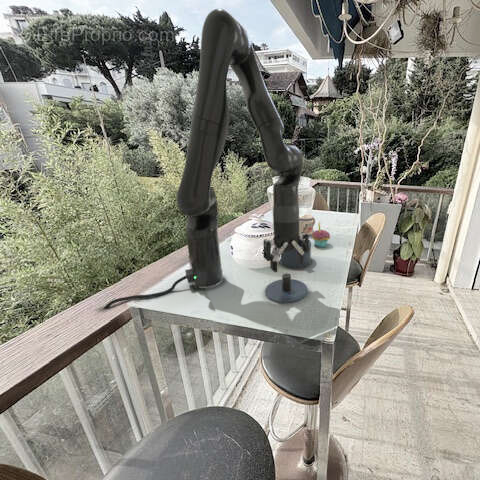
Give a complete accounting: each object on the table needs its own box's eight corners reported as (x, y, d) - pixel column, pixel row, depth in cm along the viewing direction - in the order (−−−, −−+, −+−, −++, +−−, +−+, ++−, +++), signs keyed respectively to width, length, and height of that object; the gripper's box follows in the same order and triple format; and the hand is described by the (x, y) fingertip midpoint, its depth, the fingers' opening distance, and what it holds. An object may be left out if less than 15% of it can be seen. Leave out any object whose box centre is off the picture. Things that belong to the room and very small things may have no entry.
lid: (276, 310, 77) (275, 291, 75) (258, 288, 87) (258, 271, 85) (315, 297, 84) (316, 279, 82) (295, 278, 94) (295, 262, 92)
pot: (291, 274, 97) (290, 253, 94) (271, 256, 111) (270, 237, 108) (319, 267, 103) (320, 246, 100) (297, 250, 117) (297, 232, 114)
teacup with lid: (304, 237, 133) (304, 214, 129) (292, 232, 139) (292, 211, 135) (320, 232, 141) (321, 210, 137) (308, 227, 147) (309, 207, 143)
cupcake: (323, 249, 119) (324, 224, 115) (307, 245, 123) (308, 220, 119) (332, 244, 126) (334, 220, 122) (317, 240, 130) (318, 216, 126)
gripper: (301, 211, 83) (301, 258, 89) (258, 218, 76) (261, 268, 82) (313, 217, 78) (313, 267, 83) (268, 225, 70) (271, 278, 76)
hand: (287, 267), depth 83 cm, fingers open, 8 cm apart
